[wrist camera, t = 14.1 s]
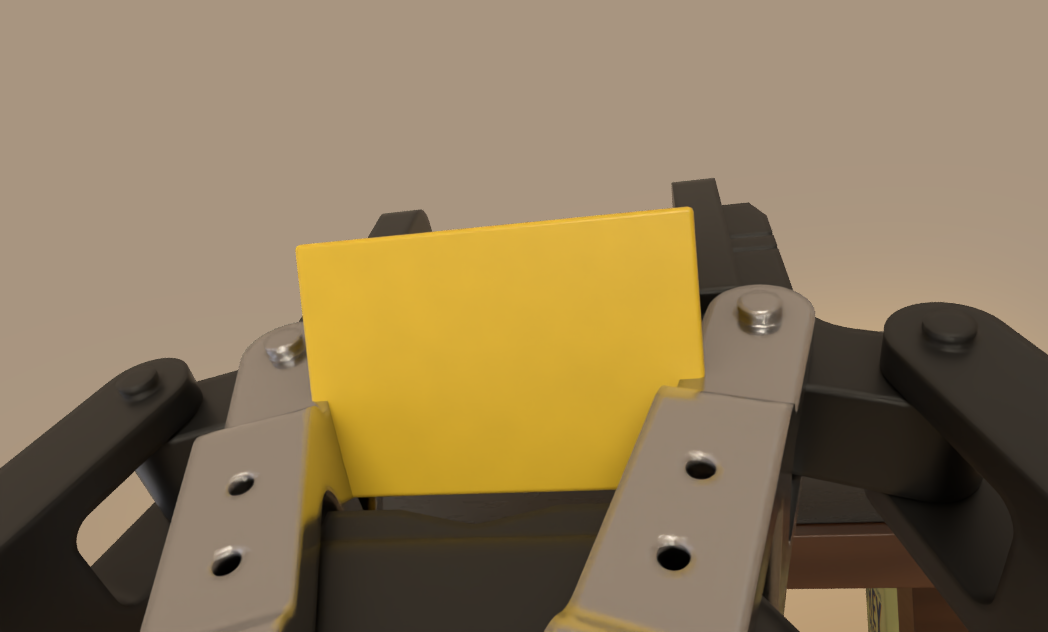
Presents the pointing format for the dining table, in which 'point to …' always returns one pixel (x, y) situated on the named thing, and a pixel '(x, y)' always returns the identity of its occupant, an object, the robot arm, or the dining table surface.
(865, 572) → the hob stand
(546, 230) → the yellow rectangular bar
